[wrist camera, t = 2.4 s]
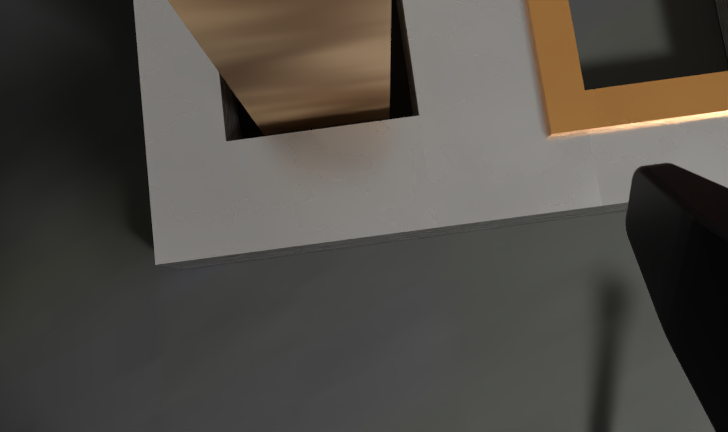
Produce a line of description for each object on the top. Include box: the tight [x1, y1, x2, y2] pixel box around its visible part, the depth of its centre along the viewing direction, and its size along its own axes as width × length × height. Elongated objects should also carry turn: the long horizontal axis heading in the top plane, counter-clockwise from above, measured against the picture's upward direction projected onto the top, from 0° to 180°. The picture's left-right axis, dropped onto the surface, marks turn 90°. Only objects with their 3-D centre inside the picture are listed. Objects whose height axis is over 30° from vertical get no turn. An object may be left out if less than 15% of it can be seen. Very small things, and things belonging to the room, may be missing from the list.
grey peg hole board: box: [133, 0, 728, 269], centre depth 21 cm, size 22×13×3 cm, turn 97°
